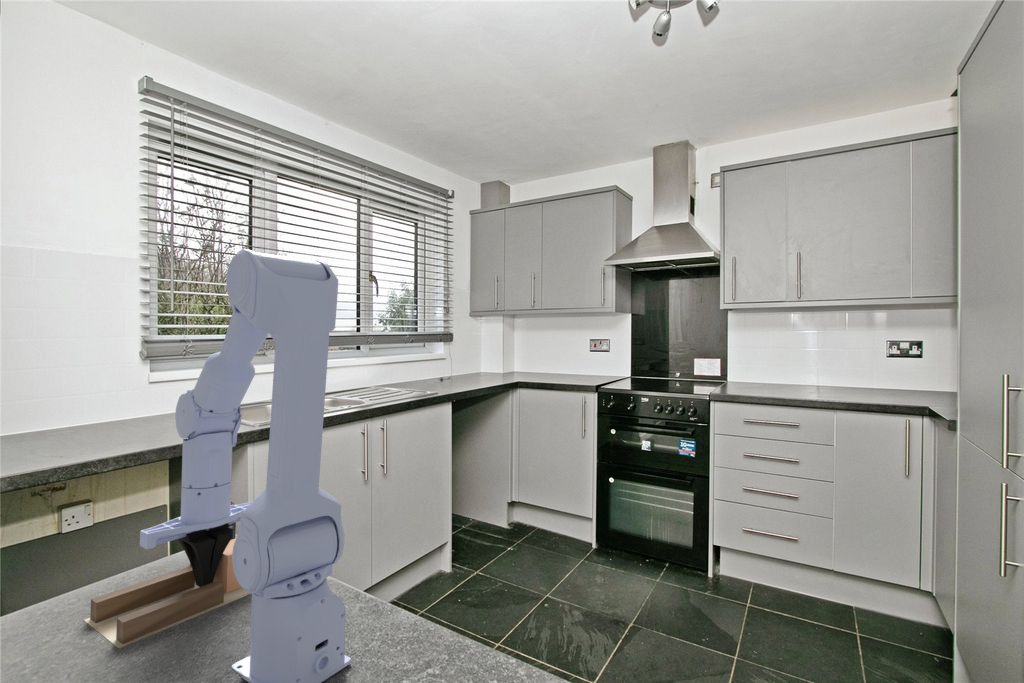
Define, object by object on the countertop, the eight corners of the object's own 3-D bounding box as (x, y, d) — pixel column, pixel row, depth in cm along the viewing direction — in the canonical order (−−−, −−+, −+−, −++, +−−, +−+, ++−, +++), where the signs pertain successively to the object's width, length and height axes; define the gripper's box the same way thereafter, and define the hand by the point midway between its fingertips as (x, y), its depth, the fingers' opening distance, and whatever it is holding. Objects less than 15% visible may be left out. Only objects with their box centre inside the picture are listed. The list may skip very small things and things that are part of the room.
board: (279, 584, 71) (279, 581, 71) (118, 652, 55) (118, 648, 55) (240, 566, 76) (240, 563, 76) (83, 623, 60) (83, 619, 60)
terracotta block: (262, 579, 72) (262, 543, 72) (226, 593, 67) (227, 555, 67) (241, 570, 74) (242, 536, 74) (206, 583, 70) (207, 547, 70)
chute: (223, 602, 65) (224, 584, 65) (122, 644, 56) (122, 622, 56) (188, 583, 70) (189, 566, 70) (90, 619, 60) (90, 599, 60)
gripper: (243, 468, 76) (241, 558, 75) (130, 490, 63) (127, 598, 63) (271, 475, 72) (268, 570, 72) (156, 500, 60) (153, 615, 59)
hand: (204, 584), depth 67 cm, fingers closed
